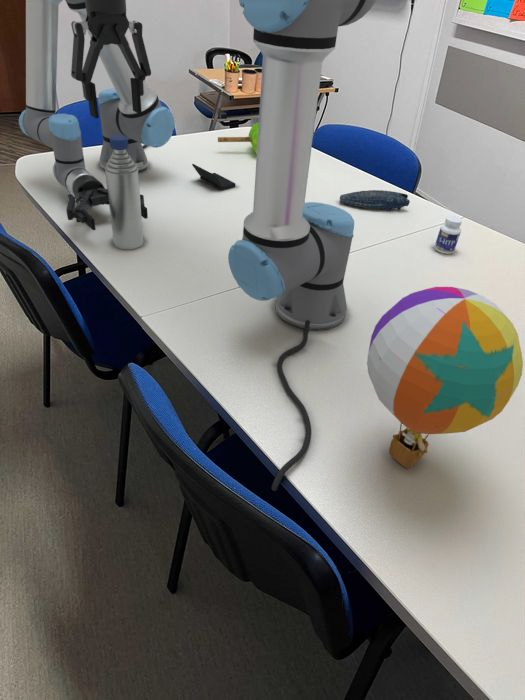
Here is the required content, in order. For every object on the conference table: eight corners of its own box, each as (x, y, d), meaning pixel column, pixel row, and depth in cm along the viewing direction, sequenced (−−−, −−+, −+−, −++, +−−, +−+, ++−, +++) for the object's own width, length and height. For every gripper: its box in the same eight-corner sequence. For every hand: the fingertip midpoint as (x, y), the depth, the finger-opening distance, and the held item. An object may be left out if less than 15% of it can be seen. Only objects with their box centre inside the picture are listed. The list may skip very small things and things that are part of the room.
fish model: (408, 214, 157) (412, 198, 153) (339, 207, 158) (341, 191, 154) (406, 206, 162) (410, 190, 159) (339, 199, 163) (341, 183, 160)
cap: (108, 145, 117) (107, 135, 115) (126, 144, 118) (125, 134, 117) (112, 150, 114) (111, 141, 113) (130, 149, 115) (129, 139, 114)
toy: (317, 448, 82) (351, 286, 63) (393, 397, 93) (442, 246, 74) (418, 536, 71) (496, 372, 52) (491, 467, 82) (578, 310, 63)
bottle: (110, 238, 132) (98, 135, 116) (139, 234, 134) (131, 133, 119) (117, 251, 127) (105, 145, 111) (146, 247, 129) (139, 143, 114)
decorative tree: (215, 117, 188) (295, 117, 193) (215, 147, 195) (292, 146, 200) (221, 131, 174) (307, 131, 180) (221, 163, 181) (304, 161, 186)
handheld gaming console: (239, 179, 164) (224, 157, 156) (229, 197, 163) (213, 176, 155) (213, 174, 171) (197, 153, 162) (202, 192, 169) (186, 171, 161)
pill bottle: (433, 251, 139) (442, 220, 133) (435, 243, 143) (444, 213, 137) (453, 256, 138) (464, 225, 132) (454, 247, 142) (465, 217, 136)
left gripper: (130, 193, 147) (166, 222, 135) (41, 210, 135) (72, 244, 122) (128, 167, 143) (165, 194, 130) (35, 182, 130) (67, 214, 117)
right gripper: (53, -12, 90) (73, 124, 104) (165, -10, 101) (169, 113, 115) (38, -17, 94) (59, 114, 108) (147, -14, 105) (153, 105, 119)
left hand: (120, 219), depth 126 cm, fingers open, 13 cm apart
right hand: (116, 114), depth 112 cm, fingers open, 9 cm apart
